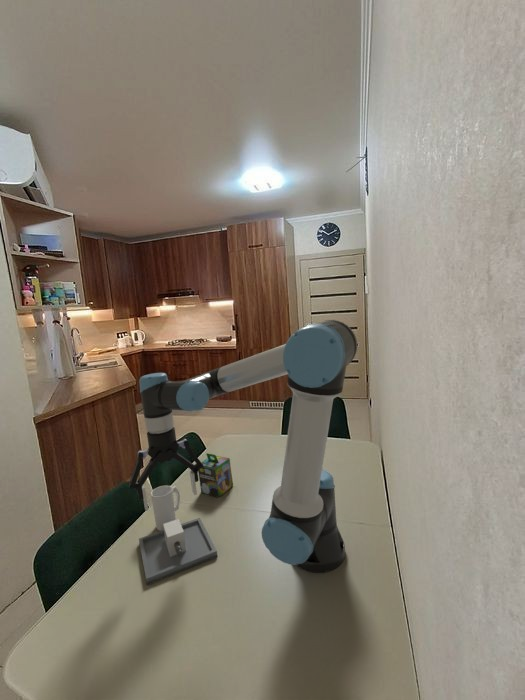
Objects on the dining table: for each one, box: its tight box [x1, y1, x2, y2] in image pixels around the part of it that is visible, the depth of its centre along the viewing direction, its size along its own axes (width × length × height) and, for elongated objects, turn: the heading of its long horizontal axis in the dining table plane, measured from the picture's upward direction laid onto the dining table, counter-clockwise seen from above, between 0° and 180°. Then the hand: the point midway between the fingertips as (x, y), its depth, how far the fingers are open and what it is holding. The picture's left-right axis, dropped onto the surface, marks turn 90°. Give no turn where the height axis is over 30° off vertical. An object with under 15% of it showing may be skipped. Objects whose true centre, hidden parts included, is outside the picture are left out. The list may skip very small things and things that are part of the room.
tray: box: [138, 517, 218, 586], centre depth 101 cm, size 18×19×2 cm
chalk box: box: [198, 453, 234, 498], centre depth 132 cm, size 9×9×15 cm
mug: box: [150, 485, 181, 532], centre depth 114 cm, size 10×7×12 cm, turn 144°
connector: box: [163, 518, 186, 557], centre depth 100 cm, size 15×5×6 cm, turn 25°
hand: (171, 500), depth 99 cm, fingers open, 13 cm apart
